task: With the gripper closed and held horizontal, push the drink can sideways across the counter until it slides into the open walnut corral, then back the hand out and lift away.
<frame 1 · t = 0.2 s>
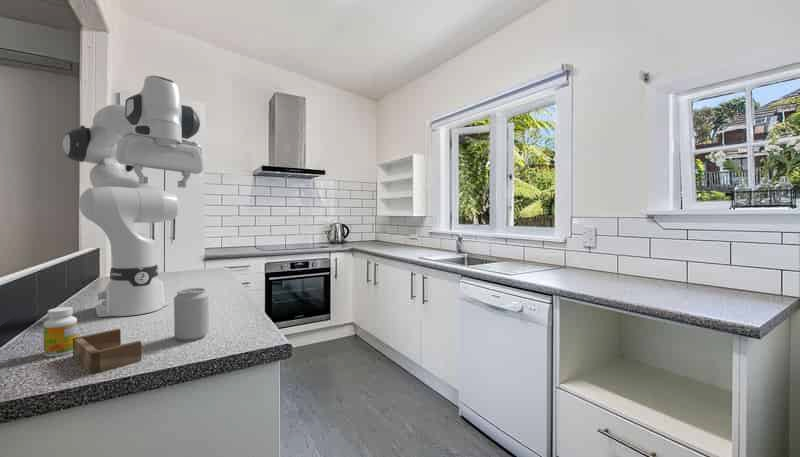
hand: (163, 185, 96), 39 cm above the countertop, tool pointing down, fingers open, 8 cm apart
corral: (118, 355, 76), on the countertop
can: (191, 337, 88), on the countertop
supplement bottle: (61, 353, 78), on the countertop
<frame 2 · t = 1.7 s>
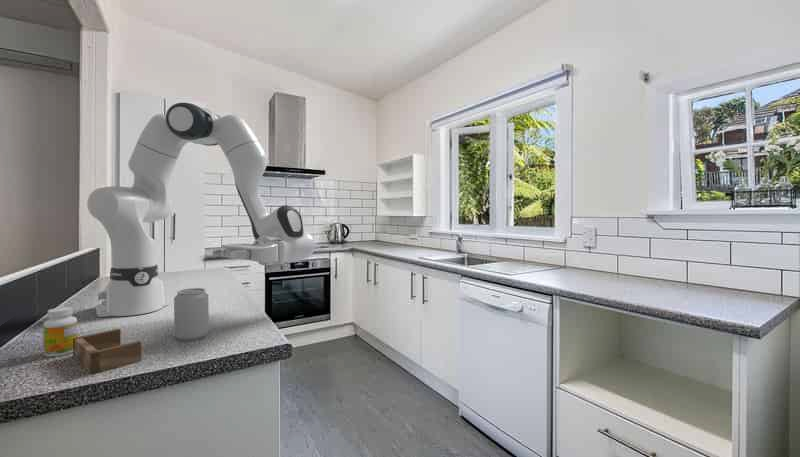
hand: (221, 254, 94), 20 cm above the countertop, tool horizontal, fingers open, 7 cm apart
nothing on the countertop moved.
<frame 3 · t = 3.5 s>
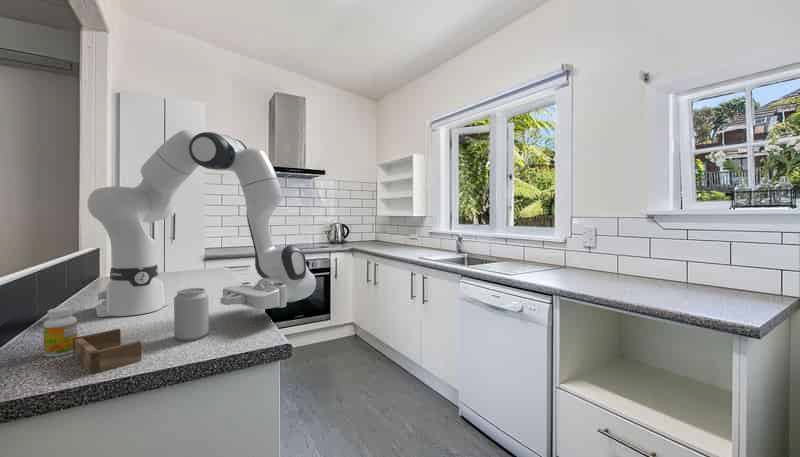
hand: (223, 301, 94), 8 cm above the countertop, tool horizontal, fingers closed
nothing on the countertop moved.
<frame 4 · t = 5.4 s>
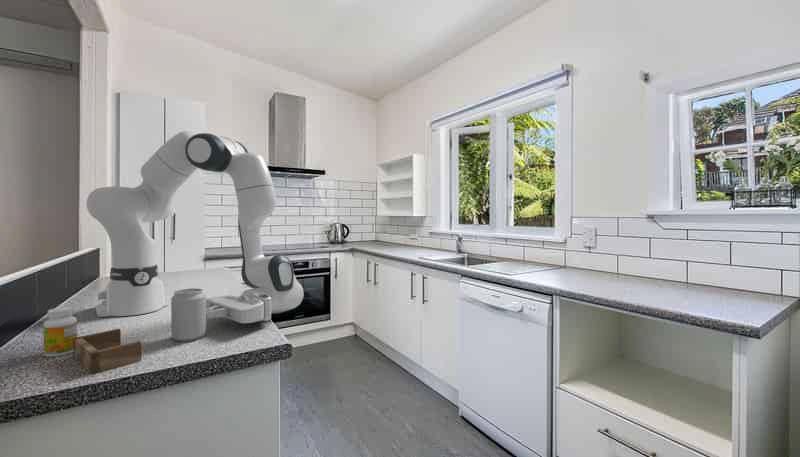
hand: (204, 314, 91), 5 cm above the countertop, tool horizontal, fingers closed, pressing on can
can: (189, 338, 88), on the countertop, touching gripper
everything else where it was.
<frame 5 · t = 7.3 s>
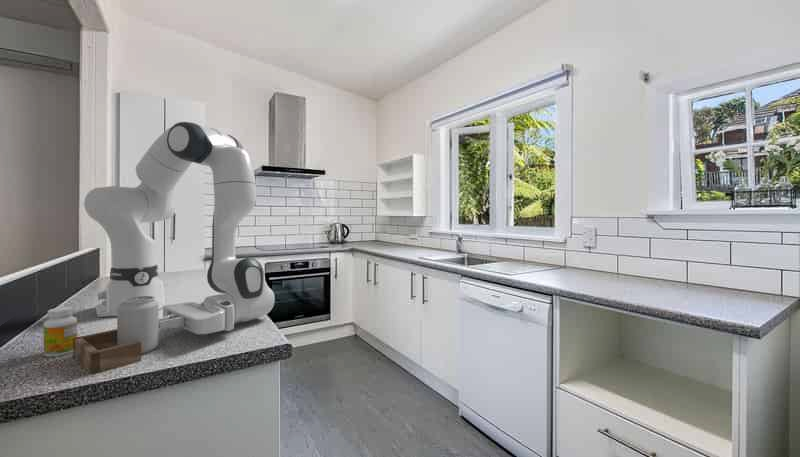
hand: (156, 324, 82), 5 cm above the countertop, tool horizontal, fingers closed, pressing on can
can: (138, 351, 79), on the countertop, touching gripper
everything else where it was.
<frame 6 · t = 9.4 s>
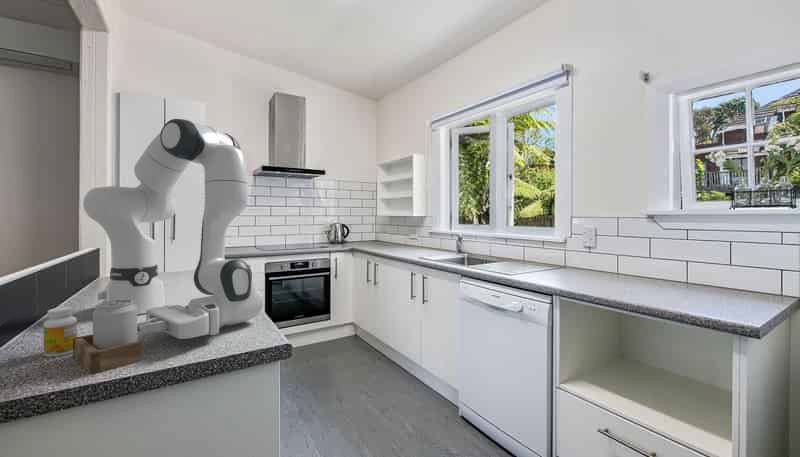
hand: (137, 328, 79), 5 cm above the countertop, tool horizontal, fingers closed
can: (116, 357, 76), on the countertop
everything else where it was.
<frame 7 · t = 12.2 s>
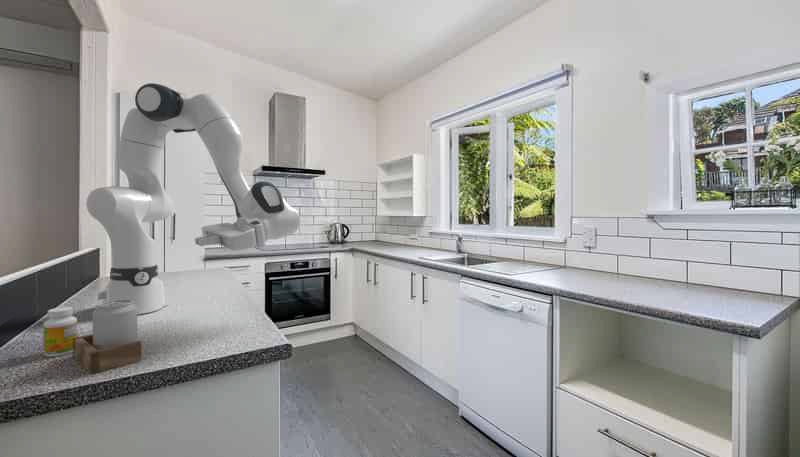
hand: (197, 242, 91), 24 cm above the countertop, tool horizontal, fingers closed
nothing on the countertop moved.
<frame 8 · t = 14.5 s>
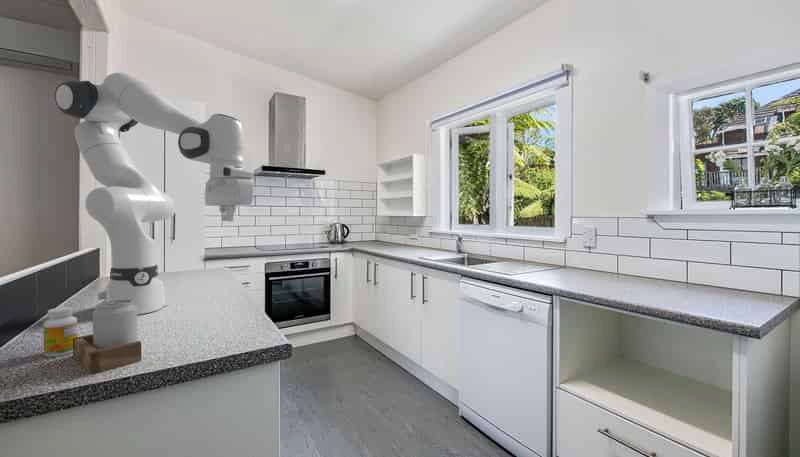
hand: (227, 221, 100), 29 cm above the countertop, tool pointing down, fingers closed
nothing on the countertop moved.
at the end: can inside the target area on the corral (0.8 cm from its centre), point 0.0 cm above the corral's base; can tilted 0°; can moved 15.5 cm from its start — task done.
